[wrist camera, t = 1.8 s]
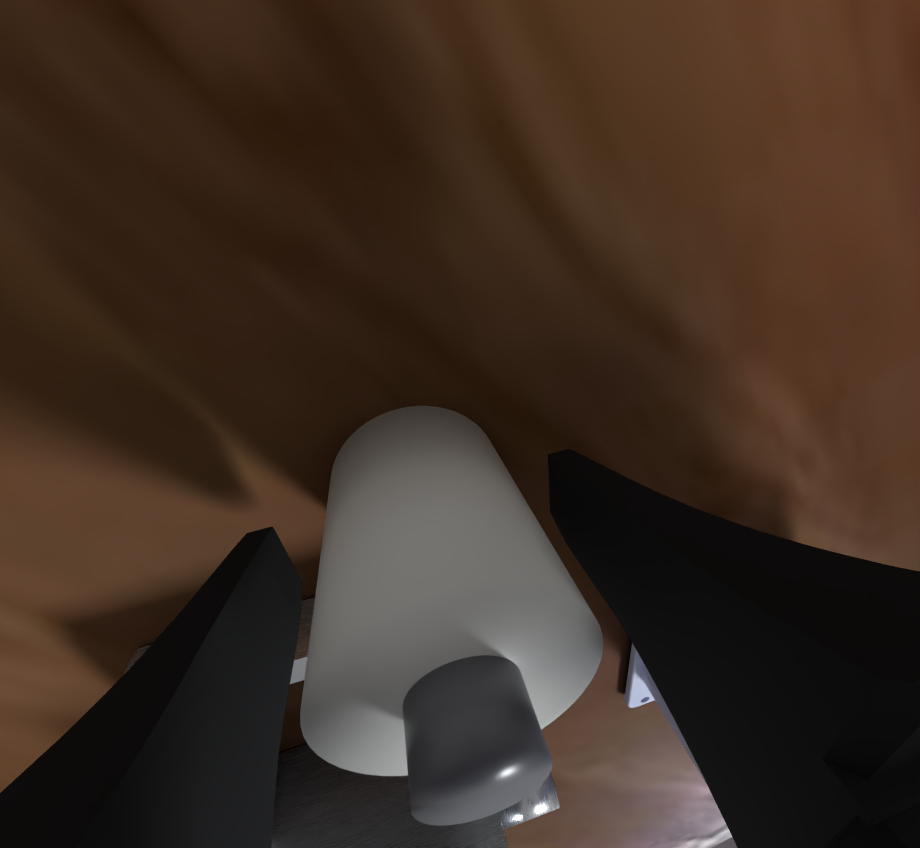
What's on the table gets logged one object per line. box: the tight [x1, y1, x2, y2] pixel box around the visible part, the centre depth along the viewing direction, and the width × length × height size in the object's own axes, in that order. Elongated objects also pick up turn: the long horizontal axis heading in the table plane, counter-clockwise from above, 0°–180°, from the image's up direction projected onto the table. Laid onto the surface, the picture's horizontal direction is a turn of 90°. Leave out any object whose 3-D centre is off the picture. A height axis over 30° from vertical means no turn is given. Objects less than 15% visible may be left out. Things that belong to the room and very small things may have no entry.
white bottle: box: [300, 406, 603, 826], centre depth 8 cm, size 5×5×7 cm
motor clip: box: [123, 597, 560, 848], centre depth 13 cm, size 12×14×7 cm
